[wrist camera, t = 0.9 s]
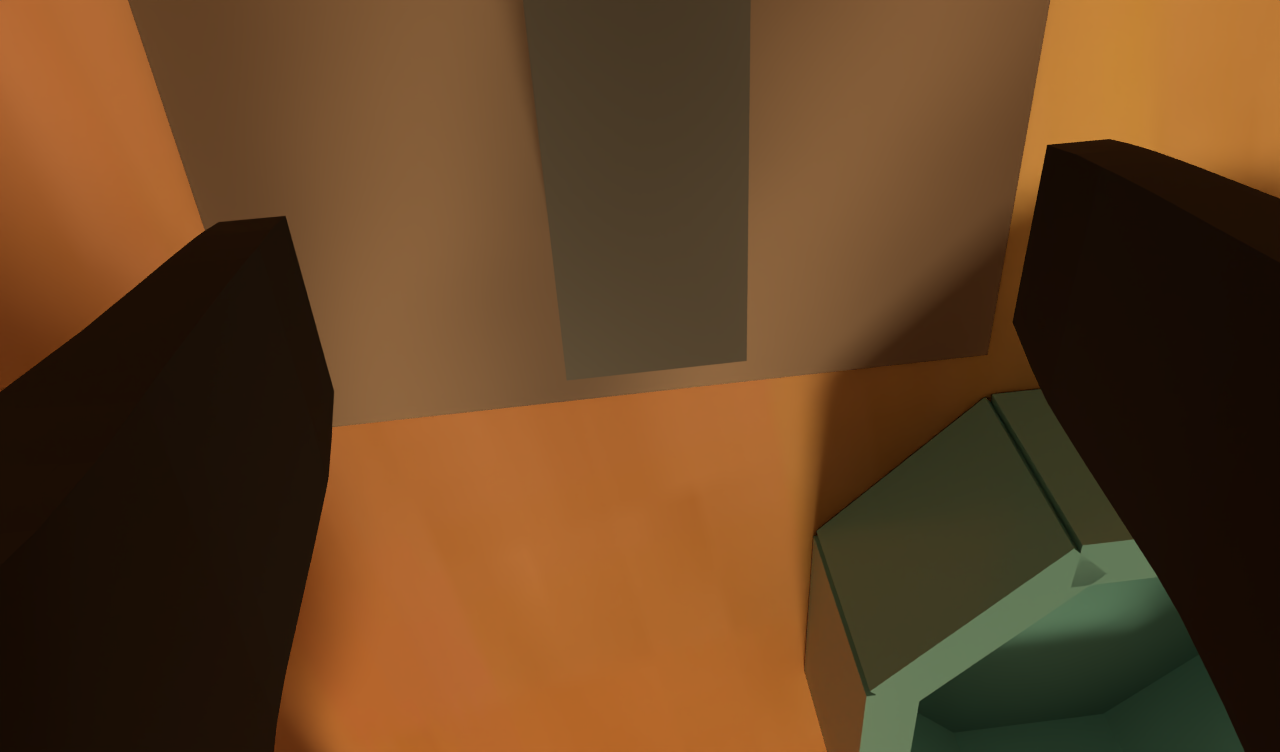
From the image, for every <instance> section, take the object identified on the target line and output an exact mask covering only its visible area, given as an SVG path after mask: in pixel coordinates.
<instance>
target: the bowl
mask: <svg viewBox="0 0 1280 752" xmlns="http://www.w3.org/2000/svg"><path fill="white" fill-rule="evenodd" d="M817 534H818V536H813V550H812V564H811V579H810V593H809V608H808V622H807V636H806V651H805V665H804V672H805V675H806V679H807V682H808V686H809V689H810V693H811V696H812V700H813V703H814V707H815V711H816V714H817V718H818V721H819V725H820V728H821V732H822V735H823V739H824V742H825V746H826V750H827V752H1244V749H1243V747H1242V745H1241V743H1240V740H1239V738H1238V736H1237V734H1236V732H1235V729H1234V727H1233V725H1232V723H1231V720H1230V718H1229V716H1228V714H1227V711H1226V709H1225V707H1224V705H1223V703H1222V701H1221V699H1220V697H1219V695H1218V692H1217V690H1216V688H1215V686H1214V684H1213V682H1212V680H1211V678H1210V676H1209V674H1208V672H1207V670H1206V668H1205V666H1204V664H1203V662H1202V660H1201V658H1200V656H1199V654H1198V652H1197V649H1196V647H1195V645H1194V643H1193V641H1192V639H1191V637H1190V635H1189V633H1188V631H1187V629H1186V627H1185V625H1184V623H1183V621H1182V619H1181V617H1180V615H1179V613H1178V611H1177V610H1176V608H1175V606H1174V605H1173V603H1172V601H1171V599H1170V598H1169V596H1168V594H1167V592H1166V591H1165V589H1164V587H1163V585H1162V584H1161V582H1160V580H1159V579H1158V577H1157V575H1156V574H1155V572H1154V570H1153V569H1152V567H1151V566H1150V564H1149V563H1148V561H1147V560H1146V558H1145V556H1144V555H1143V553H1142V552H1141V550H1140V549H1139V547H1138V545H1137V544H1136V542H1135V541H1134V539H1133V538H1132V536H1131V535H1130V533H1129V531H1128V530H1127V528H1126V527H1125V525H1124V524H1123V522H1122V521H1121V519H1120V517H1119V516H1118V514H1117V513H1116V511H1115V510H1114V508H1113V507H1112V505H1111V503H1110V502H1109V500H1108V499H1107V497H1106V496H1105V494H1104V493H1103V491H1102V489H1101V488H1100V486H1099V485H1098V483H1097V482H1096V480H1095V479H1094V477H1093V475H1092V474H1091V472H1090V471H1089V469H1088V468H1087V466H1086V465H1085V463H1084V461H1083V460H1082V458H1081V457H1080V455H1079V453H1078V452H1077V450H1076V449H1075V447H1074V445H1073V444H1072V442H1071V441H1070V439H1069V437H1068V436H1067V434H1066V433H1065V431H1064V429H1063V428H1062V426H1061V425H1060V423H1059V421H1058V420H1057V418H1056V416H1055V415H1054V413H1053V411H1052V410H1051V408H1050V406H1049V405H1048V403H1047V401H1046V399H1045V397H1044V395H1043V392H1042V390H1041V389H1036V390H1026V391H1017V392H1008V393H998V394H992V398H991V402H990V401H989V400H988V399H987V398H985V397H984V398H983V399H982V400H981V401H979V402H978V403H977V404H976V405H974V406H973V407H972V408H971V409H969V410H968V411H967V412H966V413H964V414H963V415H962V416H961V417H959V418H958V419H957V420H956V421H954V422H953V423H952V424H951V425H949V426H948V427H947V428H945V429H944V430H943V431H942V432H940V433H939V434H938V435H937V436H935V437H934V438H933V439H932V440H930V441H929V442H928V443H927V444H925V445H924V446H923V447H922V448H920V449H919V450H918V451H917V452H915V453H914V454H913V455H912V456H910V457H909V458H908V459H906V460H905V461H904V462H903V463H901V464H900V465H899V466H898V467H896V468H895V469H894V470H893V471H891V472H890V473H889V474H888V475H886V476H885V477H884V478H883V479H881V480H880V481H879V482H878V483H876V484H875V485H874V486H872V487H871V488H870V489H869V490H867V491H866V492H865V493H864V494H862V495H861V496H860V497H859V498H857V499H856V500H855V501H854V502H852V503H851V504H850V505H849V506H847V507H846V508H845V509H844V510H842V511H841V512H840V513H839V514H837V515H836V516H835V517H833V518H832V519H831V520H830V521H828V522H827V523H826V524H825V525H823V526H822V527H821V528H820V529H818V530H817Z"/></svg>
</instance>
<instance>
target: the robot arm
mask: <svg viewBox="0 0 1280 752" xmlns="http://www.w3.org/2000/svg"><path fill="white" fill-rule="evenodd" d="M1013 324H1014V327H1015V329H1016V331H1017V334H1018V336H1019V339H1020V341H1021V344H1022V346H1023V349H1024V351H1025V354H1026V356H1027V359H1028V361H1029V364H1030V366H1031V368H1032V371H1033V373H1034V375H1035V377H1036V379H1037V381H1038V384H1039V386H1040V388H1041V390H1042V392H1043V395H1044V397H1045V399H1046V401H1047V403H1048V405H1049V406H1050V408H1051V410H1052V411H1053V413H1054V415H1055V416H1056V418H1057V420H1058V421H1059V423H1060V425H1061V426H1062V428H1063V429H1064V431H1065V433H1066V434H1067V436H1068V437H1069V439H1070V441H1071V442H1072V444H1073V445H1074V447H1075V449H1076V450H1077V452H1078V453H1079V455H1080V457H1081V458H1082V460H1083V461H1084V463H1085V465H1086V466H1087V468H1088V469H1089V471H1090V472H1091V474H1092V475H1093V477H1094V479H1095V480H1096V482H1097V483H1098V485H1099V486H1100V488H1101V489H1102V491H1103V493H1104V494H1105V496H1106V497H1107V499H1108V500H1109V502H1110V503H1111V505H1112V507H1113V508H1114V510H1115V511H1116V513H1117V514H1118V516H1119V517H1120V519H1121V521H1122V522H1123V524H1124V525H1125V527H1126V528H1127V530H1128V531H1129V533H1130V535H1131V536H1132V538H1133V539H1134V541H1135V542H1136V544H1137V545H1138V547H1139V549H1140V550H1141V552H1142V553H1143V555H1144V556H1145V558H1146V560H1147V561H1148V563H1149V564H1150V566H1151V567H1152V569H1153V570H1154V572H1155V574H1156V575H1157V577H1158V579H1159V580H1160V582H1161V584H1162V585H1163V587H1164V589H1165V591H1166V592H1167V594H1168V596H1169V598H1170V599H1171V601H1172V603H1173V605H1174V606H1175V608H1176V610H1177V611H1178V613H1179V615H1180V617H1181V619H1182V621H1183V623H1184V625H1185V627H1186V629H1187V631H1188V633H1189V635H1190V637H1191V639H1192V641H1193V643H1194V645H1195V647H1196V649H1197V652H1198V654H1199V656H1200V658H1201V660H1202V662H1203V664H1204V666H1205V668H1206V670H1207V672H1208V674H1209V676H1210V678H1211V680H1212V682H1213V684H1214V686H1215V688H1216V690H1217V692H1218V695H1219V697H1220V699H1221V701H1222V703H1223V705H1224V707H1225V709H1226V711H1227V714H1228V716H1229V718H1230V720H1231V723H1232V725H1233V727H1234V729H1235V732H1236V734H1237V736H1238V738H1239V740H1240V743H1241V745H1242V747H1243V749H1244V752H1280V199H1279V198H1277V197H1274V196H1271V195H1269V194H1266V193H1264V192H1261V191H1259V190H1256V189H1253V188H1251V187H1248V186H1246V185H1243V184H1241V183H1238V182H1236V181H1233V180H1230V179H1228V178H1225V177H1223V176H1220V175H1217V174H1215V173H1212V172H1210V171H1207V170H1205V169H1202V168H1199V167H1197V166H1194V165H1191V164H1189V163H1186V162H1183V161H1181V160H1178V159H1175V158H1172V157H1169V156H1166V155H1164V154H1161V153H1158V152H1155V151H1152V150H1149V149H1146V148H1142V147H1139V146H1136V145H1132V144H1128V143H1124V142H1120V141H1115V140H1111V139H1106V140H1095V141H1085V142H1074V143H1063V144H1052V145H1047V149H1046V154H1045V159H1044V164H1043V169H1042V174H1041V179H1040V185H1039V190H1038V195H1037V200H1036V205H1035V210H1034V215H1033V220H1032V226H1031V231H1030V236H1029V241H1028V246H1027V251H1026V256H1025V261H1024V267H1023V272H1022V277H1021V282H1020V287H1019V292H1018V297H1017V302H1016V308H1015V313H1014V318H1013ZM333 405H334V389H333V385H332V382H331V378H330V374H329V371H328V367H327V363H326V360H325V356H324V353H323V349H322V345H321V342H320V338H319V335H318V331H317V327H316V324H315V320H314V316H313V313H312V309H311V306H310V302H309V298H308V295H307V291H306V288H305V284H304V280H303V277H302V273H301V269H300V266H299V262H298V259H297V255H296V251H295V248H294V244H293V241H292V237H291V233H290V230H289V226H288V222H287V219H286V216H277V217H267V218H256V219H245V220H234V221H224V222H218V223H216V224H215V225H213V226H212V227H210V228H208V229H207V230H205V231H204V232H203V233H201V234H200V235H198V236H197V237H196V238H194V239H193V240H192V241H191V242H189V243H188V244H187V245H186V246H184V247H183V248H182V249H181V250H179V251H178V252H177V253H176V254H174V255H173V256H172V257H171V258H170V259H168V260H167V261H166V262H165V263H163V264H162V265H161V266H160V267H159V268H157V269H156V270H155V271H154V272H153V273H151V274H150V275H149V276H148V277H147V278H146V279H144V280H143V281H142V282H141V283H139V284H138V285H137V286H136V287H135V288H133V289H132V290H131V291H130V292H129V293H127V294H126V295H125V296H124V297H122V298H121V299H120V300H119V301H118V302H116V303H115V304H114V305H113V306H112V307H110V308H109V309H108V310H107V311H105V312H104V313H103V314H102V315H101V316H99V317H98V318H97V319H96V320H94V321H93V322H92V323H91V324H90V325H88V326H87V327H86V328H85V329H83V330H82V331H81V332H80V333H78V334H77V335H76V336H74V337H73V338H72V339H70V340H69V341H68V342H66V343H65V344H64V345H62V346H61V347H60V348H58V349H57V350H56V351H54V352H53V353H52V354H50V355H49V356H48V357H46V358H45V359H44V360H42V361H41V362H40V363H38V364H37V365H36V366H34V367H33V368H32V369H30V370H29V371H28V372H26V373H25V374H24V375H22V376H21V377H20V378H18V379H17V380H16V381H14V382H13V383H12V384H10V385H9V386H8V387H6V388H5V389H4V390H2V391H1V392H0V752H274V744H275V735H276V726H277V719H278V713H279V708H280V702H281V696H282V690H283V684H284V679H285V674H286V669H287V665H288V660H289V656H290V652H291V647H292V643H293V638H294V634H295V629H296V625H297V620H298V616H299V611H300V607H301V602H302V598H303V593H304V589H305V585H306V580H307V576H308V571H309V567H310V562H311V558H312V553H313V549H314V544H315V540H316V535H317V530H318V526H319V521H320V516H321V512H322V507H323V502H324V498H325V493H326V488H327V483H328V477H329V464H330V452H331V440H332V422H333Z"/></svg>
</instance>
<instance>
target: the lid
mask: <svg viewBox="0 0 1280 752" xmlns="http://www.w3.org/2000/svg"><path fill="white" fill-rule="evenodd" d="M128 1H129V4H130V7H131V10H132V13H133V16H134V19H135V22H136V25H137V28H138V31H139V34H140V37H141V40H142V43H143V46H144V49H145V52H146V55H147V58H148V61H149V64H150V67H151V70H152V73H153V76H154V79H155V82H156V85H157V88H158V91H159V94H160V97H161V100H162V103H163V106H164V109H165V112H166V115H167V118H168V121H169V124H170V127H171V130H172V133H173V136H174V139H175V142H176V145H177V148H178V151H179V154H180V157H181V160H182V163H183V166H184V169H185V172H186V175H187V178H188V181H189V184H190V187H191V190H192V193H193V196H194V199H195V202H196V205H197V208H198V211H199V214H200V217H201V220H202V223H203V226H204V229H205V230H207V229H208V228H210V227H212V226H213V225H215V224H216V223H218V222H224V221H234V220H245V219H256V218H267V217H277V216H286V219H287V222H288V226H289V230H290V233H291V237H292V241H293V244H294V248H295V251H296V255H297V259H298V262H299V266H300V269H301V273H302V277H303V280H304V284H305V288H306V291H307V295H308V298H309V302H310V306H311V309H312V313H313V316H314V320H315V324H316V327H317V331H318V335H319V338H320V342H321V345H322V349H323V353H324V356H325V360H326V363H327V367H328V371H329V374H330V378H331V382H332V385H333V389H334V405H333V422H332V427H338V426H347V425H356V424H365V423H374V422H383V421H392V420H401V419H410V418H419V417H428V416H437V415H446V414H455V413H464V412H474V411H483V410H492V409H501V408H510V407H519V406H528V405H537V404H546V403H555V402H564V401H573V400H582V399H591V398H600V397H609V396H618V395H627V394H636V393H645V392H654V391H663V390H672V389H681V388H691V387H700V386H709V385H718V384H727V383H736V382H745V381H754V380H763V379H772V378H781V377H790V376H799V375H808V374H817V373H826V372H835V371H844V370H853V369H862V368H871V367H880V366H889V365H899V364H908V363H917V362H926V361H935V360H944V359H953V358H962V357H971V356H980V355H987V354H988V348H989V343H990V337H991V331H992V326H993V320H994V314H995V309H996V303H997V297H998V292H999V286H1000V280H1001V275H1002V269H1003V264H1004V258H1005V252H1006V247H1007V241H1008V235H1009V230H1010V224H1011V218H1012V213H1013V207H1014V201H1015V196H1016V190H1017V184H1018V179H1019V173H1020V168H1021V162H1022V156H1023V151H1024V145H1025V139H1026V134H1027V128H1028V122H1029V117H1030V111H1031V105H1032V100H1033V94H1034V88H1035V83H1036V77H1037V71H1038V66H1039V60H1040V55H1041V49H1042V43H1043V38H1044V32H1045V26H1046V21H1047V15H1048V9H1049V4H1050V0H128Z"/></svg>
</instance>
